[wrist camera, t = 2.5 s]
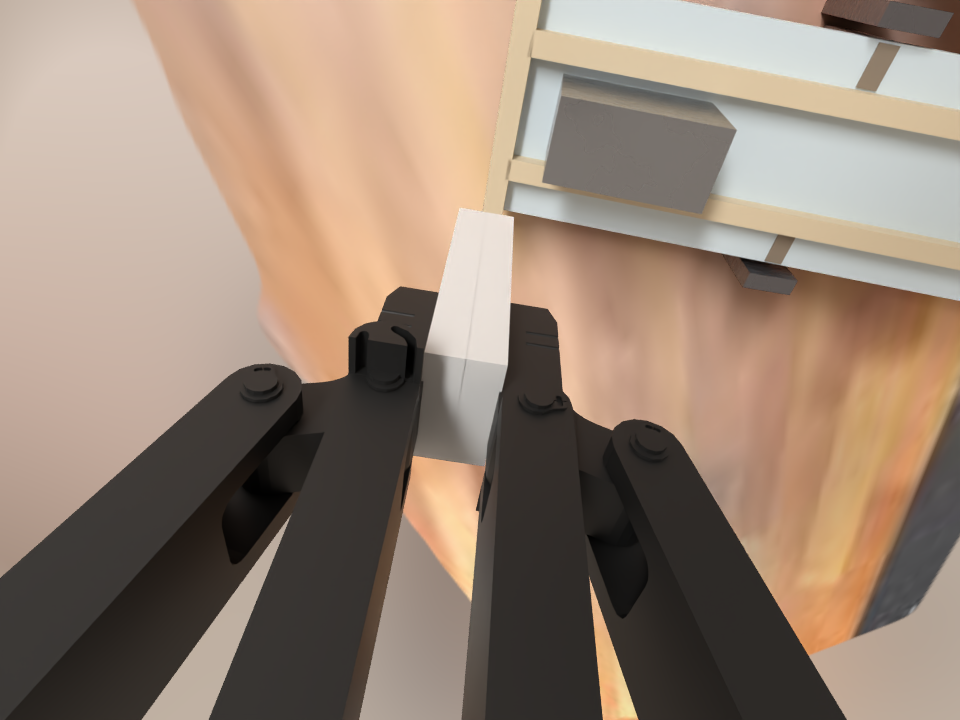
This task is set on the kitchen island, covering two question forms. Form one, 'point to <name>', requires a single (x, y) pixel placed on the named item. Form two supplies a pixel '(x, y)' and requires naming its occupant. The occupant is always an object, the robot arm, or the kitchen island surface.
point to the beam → (755, 136)
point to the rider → (636, 144)
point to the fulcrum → (866, 6)
